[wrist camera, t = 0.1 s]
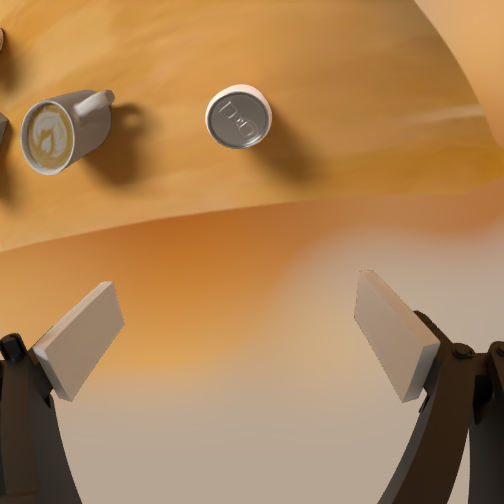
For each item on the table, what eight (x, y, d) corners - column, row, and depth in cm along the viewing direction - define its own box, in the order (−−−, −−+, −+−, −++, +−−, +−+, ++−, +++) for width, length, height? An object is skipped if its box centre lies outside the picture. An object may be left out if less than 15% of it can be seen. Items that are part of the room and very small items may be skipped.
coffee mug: (71, 159, 35) (35, 184, 27) (53, 105, 29) (12, 121, 21) (139, 131, 34) (108, 151, 26) (122, 70, 28) (84, 72, 20)
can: (239, 139, 35) (235, 166, 26) (206, 106, 32) (188, 119, 23) (276, 109, 33) (288, 124, 23) (243, 74, 30) (241, 72, 20)
